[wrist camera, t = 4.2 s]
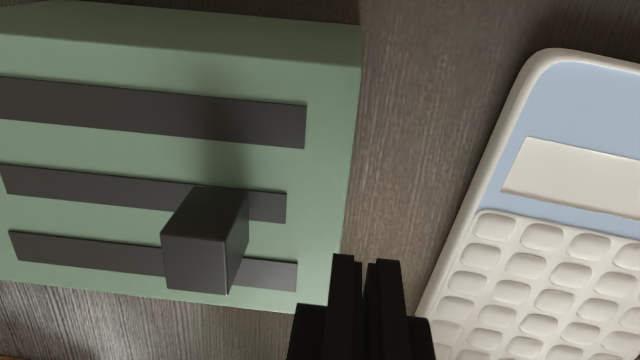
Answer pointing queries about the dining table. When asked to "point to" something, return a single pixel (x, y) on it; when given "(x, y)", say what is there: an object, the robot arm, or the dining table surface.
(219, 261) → the slider
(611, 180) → the calculator
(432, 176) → the dining table surface
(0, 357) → the block
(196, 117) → the toaster
